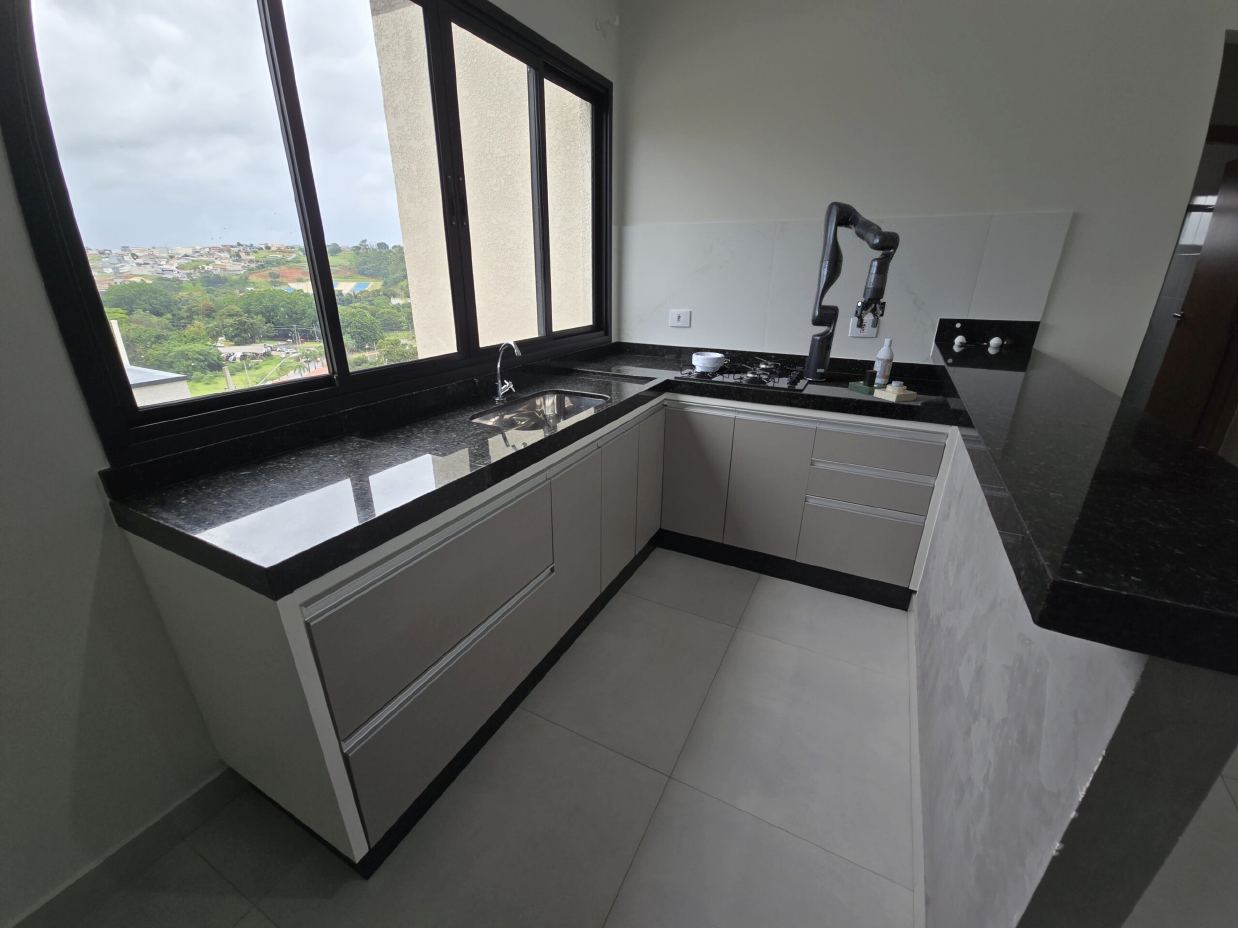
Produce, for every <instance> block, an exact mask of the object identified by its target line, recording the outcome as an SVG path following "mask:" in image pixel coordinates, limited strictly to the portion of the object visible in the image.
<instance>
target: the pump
mask: <svg viewBox="0 0 1238 928" xmlns="http://www.w3.org/2000/svg"><path fill="white" fill-rule="evenodd" d="M891 384H892V385H891V386H894V387H903V386H904V382H903V381H898V380H892V382H891Z"/></svg>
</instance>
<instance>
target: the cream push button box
mask: <svg viewBox="0 0 1238 928" xmlns="http://www.w3.org/2000/svg"><path fill="white" fill-rule="evenodd" d="M886 385H887V388H882V389H875V392H874V394H873V397H875V398H879V399H882V400H886V401H888V402H893V403H899V402H909V401H915V400H916V398H917V395H918V392H916V391H911V390H907V386H905V385H903V387H894V386H891V385H892V383H887V384H886Z"/></svg>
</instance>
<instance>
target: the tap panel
mask: <svg viewBox="0 0 1238 928" xmlns="http://www.w3.org/2000/svg"><path fill="white" fill-rule="evenodd" d="M863 382H864V380H863V381H851V382H849V383H848V386H847V387H848V388H847V390H849V391H853V392H856V393H860V394H863V395H874V392H875V389H882V388H887V385H888V384H879V383H875V385H866V384H863Z"/></svg>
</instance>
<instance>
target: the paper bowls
mask: <svg viewBox="0 0 1238 928" xmlns="http://www.w3.org/2000/svg"><path fill="white" fill-rule="evenodd" d="M725 357H726V356H725V355H724V354H723V353H718V352H711V351H699V352H694V353H693V354H692V365H694V367H695V368H696V370H697V371H699V372H702V373H715V372H718V371H719V370H720V368H721V367H723V366H724V365H725Z"/></svg>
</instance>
